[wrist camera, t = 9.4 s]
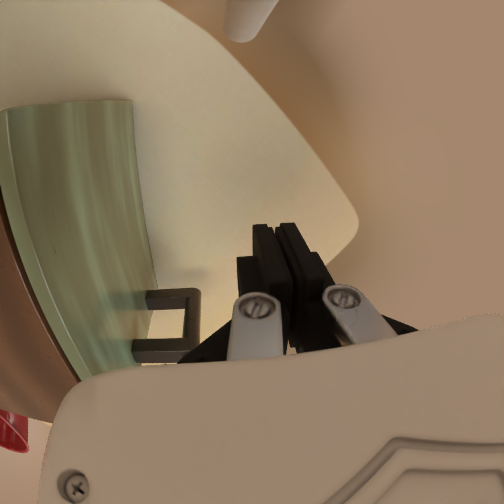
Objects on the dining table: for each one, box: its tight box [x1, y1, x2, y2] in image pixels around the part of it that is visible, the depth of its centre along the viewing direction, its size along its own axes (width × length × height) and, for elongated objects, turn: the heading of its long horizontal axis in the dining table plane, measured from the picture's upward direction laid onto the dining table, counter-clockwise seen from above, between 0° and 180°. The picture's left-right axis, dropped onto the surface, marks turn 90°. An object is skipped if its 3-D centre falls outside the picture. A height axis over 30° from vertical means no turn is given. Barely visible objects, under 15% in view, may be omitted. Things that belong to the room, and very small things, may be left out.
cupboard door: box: [0, 100, 201, 381], centre depth 19 cm, size 6×20×18 cm, turn 1°
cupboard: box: [0, 186, 81, 423], centre depth 18 cm, size 14×20×18 cm
